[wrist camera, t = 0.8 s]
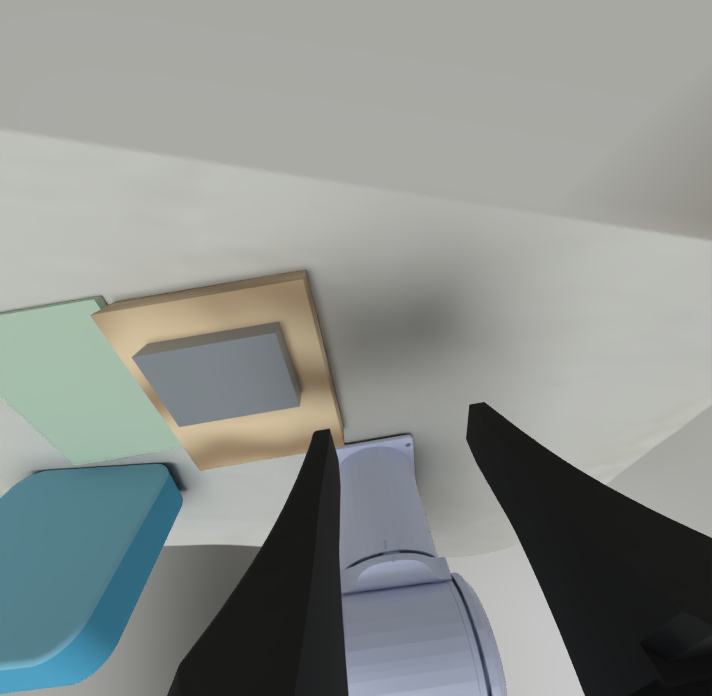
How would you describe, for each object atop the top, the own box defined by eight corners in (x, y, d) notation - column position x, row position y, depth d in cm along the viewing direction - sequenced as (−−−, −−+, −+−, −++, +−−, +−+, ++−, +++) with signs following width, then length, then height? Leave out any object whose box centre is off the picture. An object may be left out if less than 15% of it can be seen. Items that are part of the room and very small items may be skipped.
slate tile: (301, 391, 19) (299, 406, 18) (189, 410, 19) (179, 427, 18) (279, 321, 16) (274, 332, 15) (147, 343, 16) (131, 357, 15)
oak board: (343, 427, 24) (344, 446, 22) (209, 450, 24) (200, 470, 22) (305, 269, 17) (303, 279, 15) (114, 302, 17) (89, 315, 15)
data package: (56, 500, 26) (-128, 711, 15) (28, 470, 23) (-211, 692, 13) (189, 491, 27) (101, 682, 16) (174, 461, 24) (61, 661, 14)
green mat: (196, 439, 23) (193, 445, 23) (80, 459, 23) (74, 465, 23) (101, 295, 17) (93, 299, 16) (-62, 323, 16) (-74, 327, 16)
